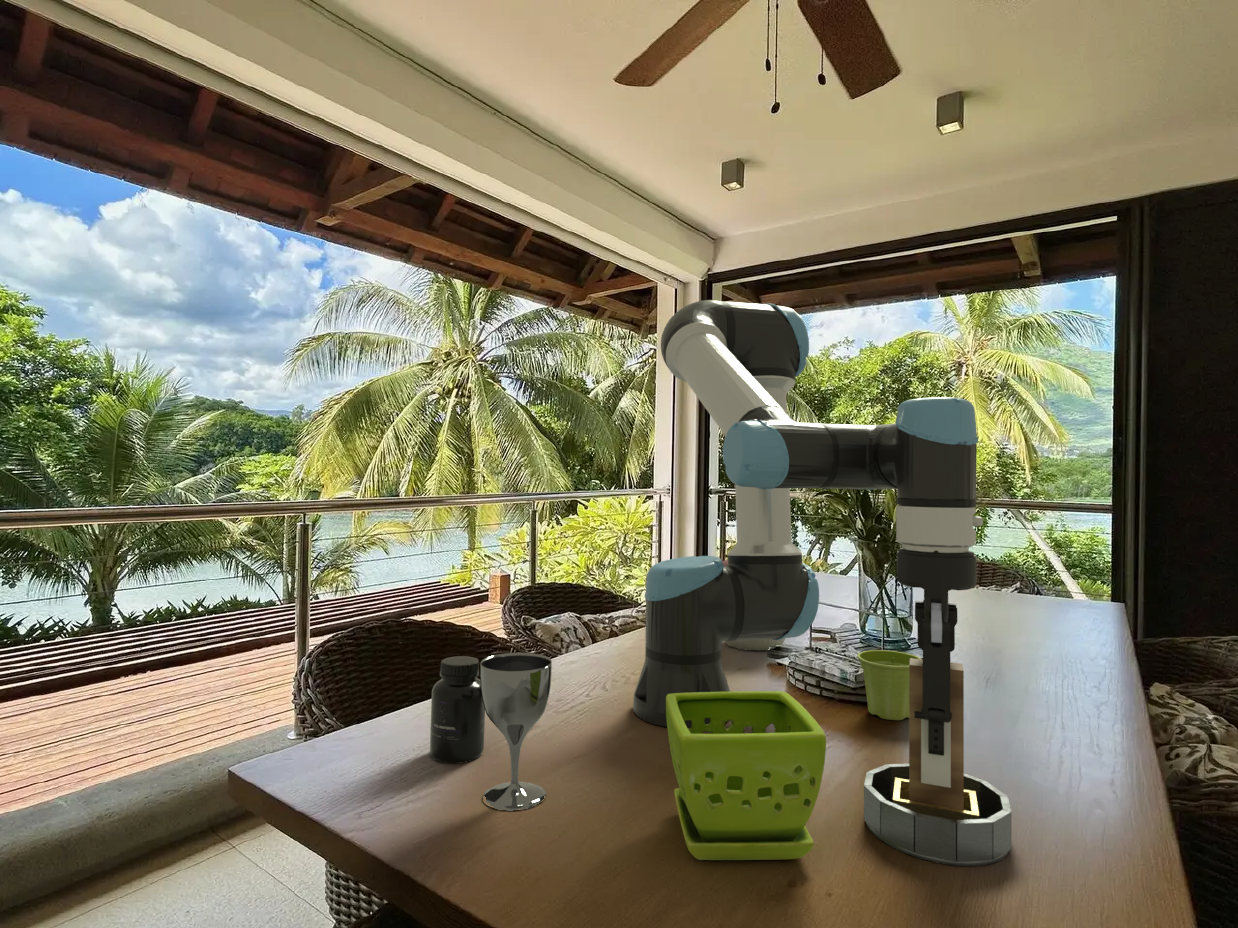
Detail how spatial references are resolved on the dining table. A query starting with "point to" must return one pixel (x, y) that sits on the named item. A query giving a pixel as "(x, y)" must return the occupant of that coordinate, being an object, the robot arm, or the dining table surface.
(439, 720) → the supplement bottle
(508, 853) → the dining table surface
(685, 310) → the robot arm
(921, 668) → the wooden slab
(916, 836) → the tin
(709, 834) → the flower pot
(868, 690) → the plant pot
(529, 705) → the wine glass
